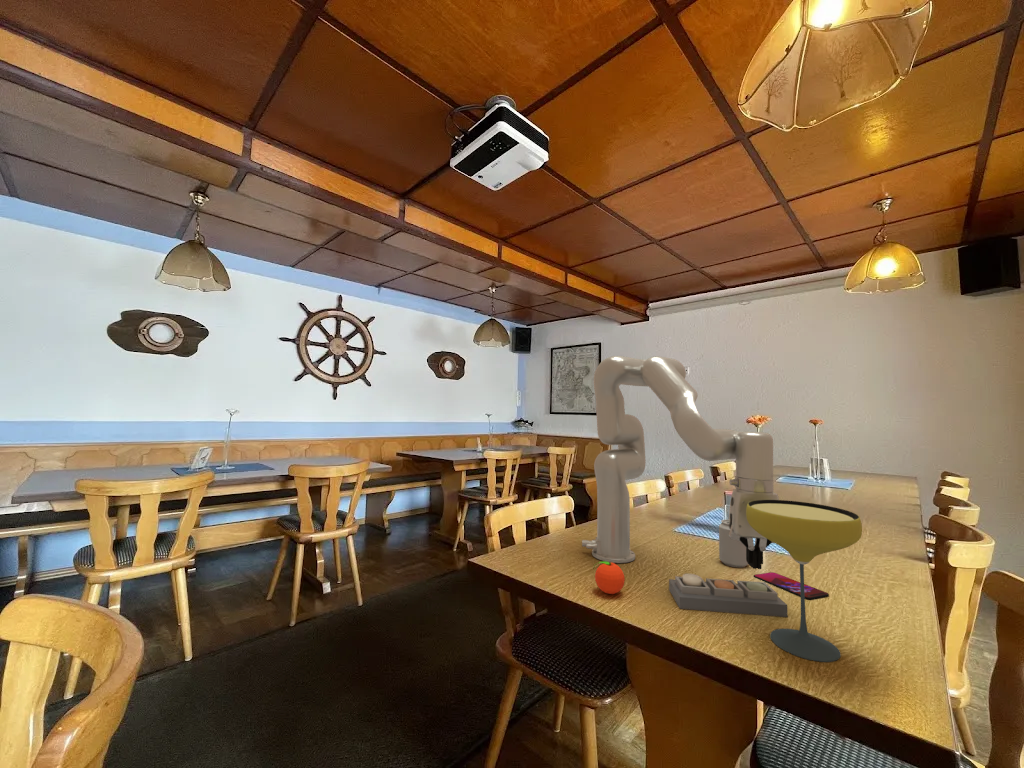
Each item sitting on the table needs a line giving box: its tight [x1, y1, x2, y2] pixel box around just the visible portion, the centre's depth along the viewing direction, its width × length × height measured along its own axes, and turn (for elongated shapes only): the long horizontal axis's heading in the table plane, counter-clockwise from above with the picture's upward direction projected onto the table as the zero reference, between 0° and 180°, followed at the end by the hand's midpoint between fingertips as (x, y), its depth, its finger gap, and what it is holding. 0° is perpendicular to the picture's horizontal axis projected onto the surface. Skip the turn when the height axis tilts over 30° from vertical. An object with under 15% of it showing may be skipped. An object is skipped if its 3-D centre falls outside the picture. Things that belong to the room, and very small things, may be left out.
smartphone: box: [753, 571, 830, 601], centre depth 105 cm, size 8×1×15 cm
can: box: [718, 519, 749, 568], centre depth 121 cm, size 8×8×12 cm
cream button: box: [682, 573, 702, 587], centre depth 97 cm, size 4×4×2 cm
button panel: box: [668, 575, 789, 618], centre depth 95 cm, size 22×10×4 cm, turn 82°
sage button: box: [747, 581, 767, 592], centre depth 95 cm, size 4×4×2 cm
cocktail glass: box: [746, 499, 863, 663], centre depth 79 cm, size 18×18×25 cm
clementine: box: [593, 561, 626, 595], centre depth 100 cm, size 8×7×7 cm
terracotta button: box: [714, 579, 734, 589], centre depth 96 cm, size 4×4×2 cm
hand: (754, 566), depth 95 cm, fingers closed
